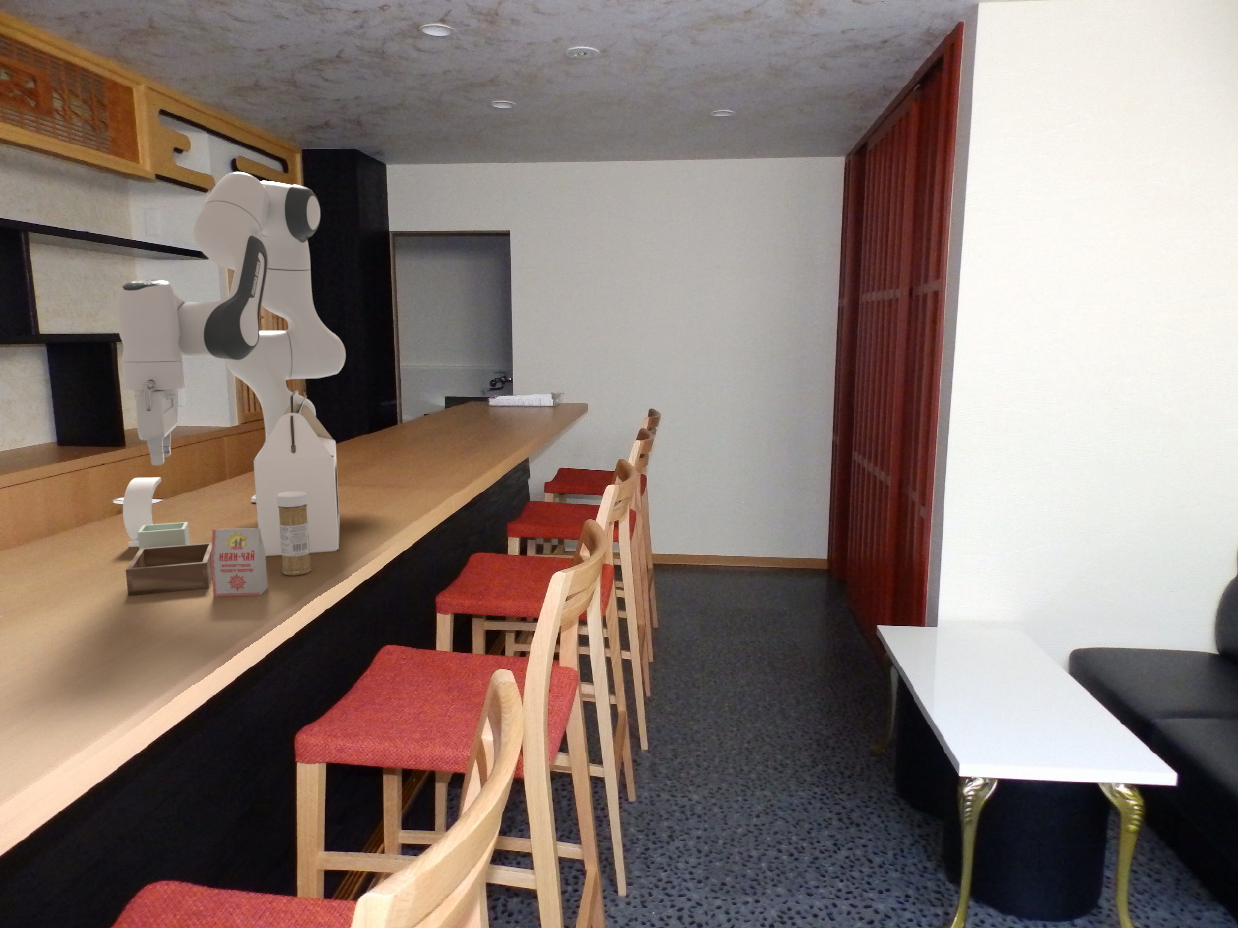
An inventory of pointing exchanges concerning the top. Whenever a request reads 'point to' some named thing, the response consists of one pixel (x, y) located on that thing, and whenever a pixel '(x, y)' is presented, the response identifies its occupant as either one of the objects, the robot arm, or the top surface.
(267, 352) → the robot arm
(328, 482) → the gable box
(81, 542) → the top surface
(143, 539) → the box
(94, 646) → the top surface
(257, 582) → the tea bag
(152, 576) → the large crate
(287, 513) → the sprinkles bottle
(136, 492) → the headphone stand
